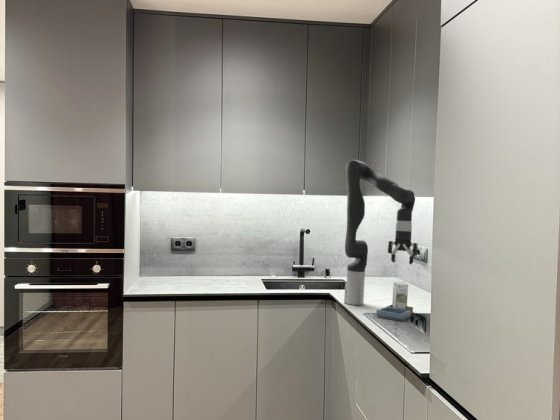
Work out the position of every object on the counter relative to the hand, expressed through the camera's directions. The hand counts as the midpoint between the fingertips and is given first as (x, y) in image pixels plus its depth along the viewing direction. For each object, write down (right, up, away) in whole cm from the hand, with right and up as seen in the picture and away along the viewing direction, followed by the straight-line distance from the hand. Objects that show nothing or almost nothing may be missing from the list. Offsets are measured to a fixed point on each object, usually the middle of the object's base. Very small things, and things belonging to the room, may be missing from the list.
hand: (402, 263), depth 226 cm
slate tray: (-7, -24, -12) cm, 27 cm away
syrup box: (-1, -24, 0) cm, 24 cm away
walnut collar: (-1, -24, 0) cm, 24 cm away
